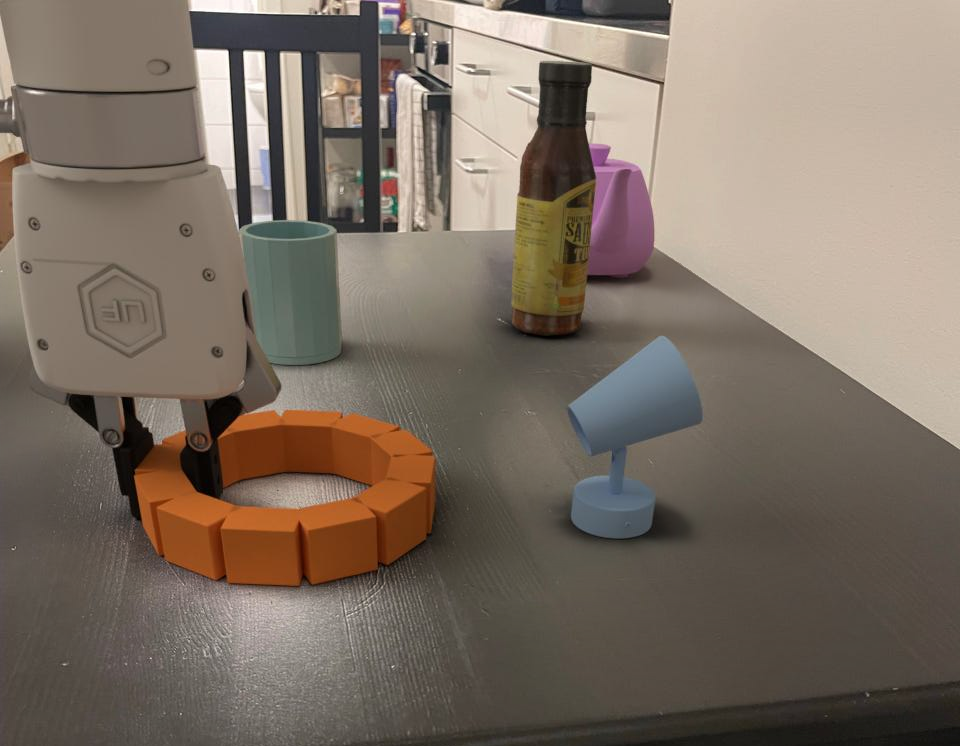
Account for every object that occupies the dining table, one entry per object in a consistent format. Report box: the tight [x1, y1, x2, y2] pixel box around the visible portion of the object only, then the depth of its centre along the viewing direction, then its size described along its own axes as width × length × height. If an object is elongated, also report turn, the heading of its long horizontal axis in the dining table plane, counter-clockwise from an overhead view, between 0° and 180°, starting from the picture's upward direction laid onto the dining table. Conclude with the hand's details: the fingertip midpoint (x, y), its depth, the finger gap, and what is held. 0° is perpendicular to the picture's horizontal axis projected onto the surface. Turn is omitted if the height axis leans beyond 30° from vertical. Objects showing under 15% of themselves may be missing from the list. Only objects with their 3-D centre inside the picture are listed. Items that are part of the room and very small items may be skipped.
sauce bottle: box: [510, 60, 596, 337], centre depth 78 cm, size 7×6×20 cm
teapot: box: [587, 143, 655, 279], centre depth 98 cm, size 20×13×12 cm, turn 10°
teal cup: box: [238, 219, 343, 366], centre depth 74 cm, size 7×7×9 cm
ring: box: [134, 409, 436, 587], centre depth 52 cm, size 15×15×3 cm
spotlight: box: [566, 335, 704, 539], centre depth 51 cm, size 5×10×7 cm
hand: (175, 505), depth 53 cm, fingers closed on ring, 2 cm apart
